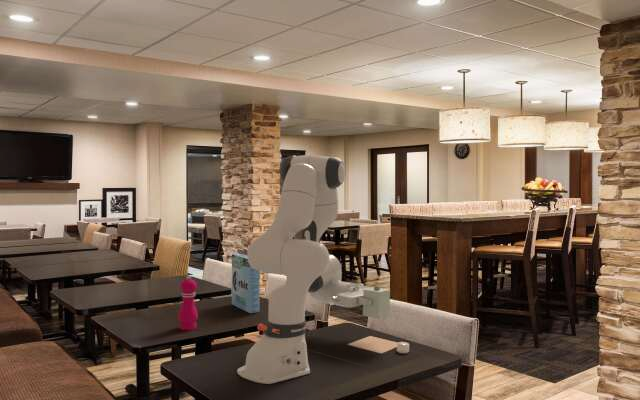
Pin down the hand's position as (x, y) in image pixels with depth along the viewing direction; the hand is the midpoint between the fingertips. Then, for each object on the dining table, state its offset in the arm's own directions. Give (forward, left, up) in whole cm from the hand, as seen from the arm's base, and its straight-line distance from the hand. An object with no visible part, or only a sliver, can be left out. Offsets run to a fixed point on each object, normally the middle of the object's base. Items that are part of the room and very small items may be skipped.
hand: (378, 300), depth 187 cm
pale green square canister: (0, +1, -5) cm, 5 cm away
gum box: (+4, +72, -16) cm, 74 cm away
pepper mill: (-32, +64, -16) cm, 73 cm away
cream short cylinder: (0, -10, -16) cm, 19 cm away
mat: (0, +1, -16) cm, 16 cm away
